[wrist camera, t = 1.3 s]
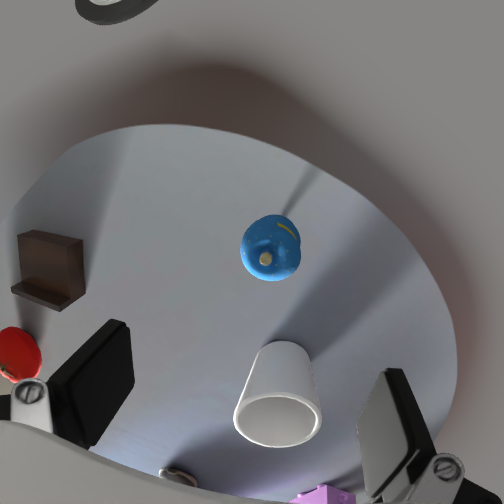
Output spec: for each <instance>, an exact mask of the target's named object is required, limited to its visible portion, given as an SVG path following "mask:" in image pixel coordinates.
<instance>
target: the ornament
mask: <svg viewBox="0 0 504 504" xmlns="http://www.w3.org/2000/svg"><path fill="white" fill-rule="evenodd" d="M300 242H301V241H300V235H299V233H298V231H297V229H296V227H295V226H294V225H293V223H292V222H291V221H290V220H289V219H288V218H286V217H284V216H281V215H268V216H265V217H263V218H261V219H259V220H257V221H256V222H254V223H253V224H252V225H251V226H250V227H249V228H248V229H247V230H246V232H245V234H244V236H243V238H242V242H241V257H242V261H243V263H244V265H245V267H246V268H247V270H248V271H249V272H250V273H251V274H253V275H254V276H256V277H257V278H260V279H263V280H267V281H277V280H281V279H284V278H286V277H288V276H290V275H291V274H292V273H294V272H295V271H296V269H297V268H298V266H299V264H300V260H301V251H300Z"/></svg>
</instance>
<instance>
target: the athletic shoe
mask: <svg viewBox="0 0 504 504" xmlns="http://www.w3.org/2000/svg"><path fill="white" fill-rule="evenodd" d="M159 478H162V479H166V480H169V481H173V482H176V483H180V484H183V485H187V486H191V487H195V488H196V487H197V485H198V482H197V481H196V479H195V478H194V477H193V476H191V475H190V474H187V473H185V472H182V471H179V470H175V469H170V468H162V469H161V470H160V471H159Z"/></svg>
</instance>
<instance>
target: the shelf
mask: <svg viewBox="0 0 504 504" xmlns="http://www.w3.org/2000/svg"><path fill="white" fill-rule="evenodd" d="M17 238H18V250H19V260H20V268H21V276H22V281H21V282H19V283H17V284H16V285H14V286H12V287H11V292H12V293H14V294H16V295H18V296H21V297H23V298H25V299H28V300H30V301H33V302H35V303H38V304H40V305H43V306H45V307H48V308H50V309H53V310H56V311H58V312H61V311H62V310H63V309H65V308H66V307H68V306H69V305H70V304H72V303H73V302H75V301H76V300H77V299H79V298H80V297H82V296H83V295H84V294H85V282H84V267H83V243H82V240H80V239H75V238H71V237H66V236H61V235H56V234H51V233H46V232H42V231H37V230H30V231H28V232H25V233H22V234H19V235H17Z"/></svg>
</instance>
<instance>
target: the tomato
mask: <svg viewBox="0 0 504 504" xmlns="http://www.w3.org/2000/svg"><path fill="white" fill-rule="evenodd" d="M41 365H42V358H41V352H40V350H39V348H38V346H37V344H36V342H35V341H34V339H33V338H32V337H31V336H30V334H28V333H26V332H25V331H23V330H21V329H20V328H17V327H8V328H6V329H3V330H2V331H1V332H0V373H1V374H2V375H3V376H5V377H6V378H9V379H10V380H11V381H12V382H15V383H17V382H18V381H20V380H22V379H25V378H36V376H37V375H38V373H39V371H40V368H41Z"/></svg>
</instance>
